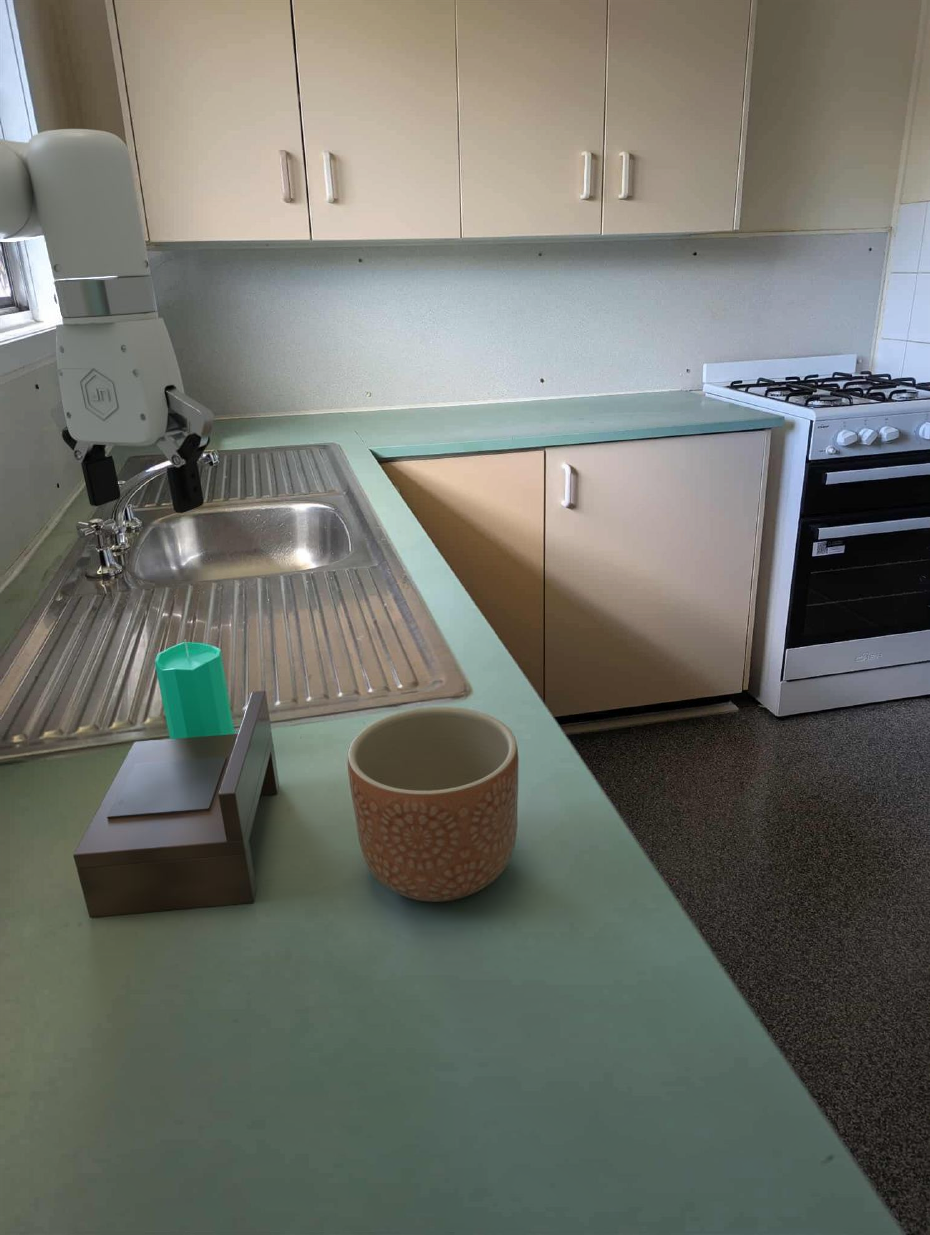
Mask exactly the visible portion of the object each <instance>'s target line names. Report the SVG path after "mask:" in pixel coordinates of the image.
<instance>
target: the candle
mask: <svg viewBox="0 0 930 1235" xmlns="http://www.w3.org/2000/svg"><path fill="white" fill-rule="evenodd" d="M154 666H155V672H156V676H157V682H158V686H159V691H160V696H161V701H162V706H163V710H164V717H165V721H166V722H165V723H166V726H167V732H168V737H169V739H178V738H190V737H203V736H216V735H229V734H236V733H235V732H236V731H235V726H234V722H233V715H232V710H231V703H230V702H231V701H230V697H229V689H228V686H227V685H228V684H227V680H226V672H225V667H224V661H223V655H222V650H221V649H220V648H218V647H217V646H215V645H211V644H207V643H203V642H194V641H187V639H184V640H183V641H182V642H181V643H178V644H175V645H172V646H170V647H168V648H165V649H164V650H162V651H160V652H158V653H157V654H156V657H155V660H154Z"/></svg>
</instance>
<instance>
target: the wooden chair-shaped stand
mask: <svg viewBox="0 0 930 1235" xmlns="http://www.w3.org/2000/svg"><path fill="white" fill-rule="evenodd" d="M270 718H271V717H270V712H269V706H268V700H267V692H266V690H259V691H258V690H257V691H251V693H250V697H249V699H248V703H247V706H246V710H245V712H244V715H243V718H242V721H241V724H240V727H239V730H238V733H235V734H229V735H216V736H203V737H190V738H178V739H170V738H168V739H167V738H166V739H155V740H154V739H153V740H142V741H140V740H139V741H134V742H133V743H132V746H131V747H130V749H129V751H128V753H127V754H126V757H125V758H124V760H123V762H122V764H121V765H120V767H119V770H118V771H117V773H116V774H115V777H114V779H113V780H112V782H111V784H110V786H109V788H108V790H107V792H106V793H105V796H104V797H103V799H102V801H101V803H100V804H99V806H98V808H97V810H96V812H95V814H94V815H93V817H92V819H91V821H90V823H89V825H88V826H87V829H86V830H85V832H84V835H83V836H82V838H81V840H80V841H79V843H78V845H77V847H76V849H75V851H74V853H73V854H72V856H73V861H74V864H75V868H76V871H77V875H78V879H79V882H80V887H81V891H82V894H83V898H84V902H85V906H86V909H87V914H88V917H89V918H98V917H109V916H119V915H131V914H141V913H142V914H143V913H153V912H154V913H155V912H164V911H176V910H187V909H198V908H199V909H200V908H209V907H210V908H211V907H219V906H232V905H242V904H254V902H255V899H256V894H257V890H258V889H257V882H256V876H255V871H254V865H253V864H254V863H253V858H252V852H251V846H250V842H249V841H250V837H251V833H252V830H253V829H252V828H253V826H254V825H253V824H254V820H255V816H256V813H257V810H258V805H259V800H260V796H272V795H278V793H279V789H280V788H279V787H280V780H279V773H278V766H277V760H276V751H275V746H274V738H273V732H272V725H271V720H270Z"/></svg>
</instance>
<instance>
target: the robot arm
mask: <svg viewBox="0 0 930 1235" xmlns="http://www.w3.org/2000/svg"><path fill="white" fill-rule="evenodd" d="M139 203H140V202H139V198H138V191H137V185H136V179H135V174H134V168H133V163H132V158H131V154H130V151H129V148H128V147H127V145H126V143H125V142H124V141H123V140H122V138H120V137H119V136H117V134H115V133H111V132H108V131H105V130H98V129H89V128H88V129H86V128H60V129H52V130H43V131H41V132H38V133H36V134H34V135H32V137H31V138H30V139H29V140H28V142H23V141H15V140H7V139H4V138H0V242H7V243H9V242H20V241H26V240H30V239H31V240H32V239H36V238H40V237H43V240H44V245H45V250H46V254H47V258H48V264H49V268H50V272H51V277H52V281H53V288H54V294H53V299H54V303H55V304H56V305H57V306H58V310H59V315H60V320H61V322H59V323H55V353H56V367H57V376H58V383H59V389H60V396H61V401H60V402H59V403H58V404H56V405H55V406H54V407H53V408H52V409H51V410H50V416H51V418H52V419H53V421H54V423H55V424H56V426H57V428H58V429H59V431H60V432H61V438H62V440H63V441H64V443H65V444H66V445H67V446H68V447H69V448H70V449H71V450H72V456H73V458H74V460H75V461H76V462H78V463H80V465H81V469H82V475H83V479H84V483H85V488H86V494H87V497H88V501H89V505H90V506H92V507H99V506H100V507H101V506H102V505H106V504H108V503H111V502H114V501H118V500H119V499H120V498H121V490H120V484H119V479H118V475H117V470H116V465H115V460H114V457H113V455H108V454H107V452H108V450H109V447H110V446H121V447H122V446H123V447H147V446H150V445H153V444H155V445H156V446H157V448H158V449H159V450H160V452H161V453H162V454H163V455H164V456H165V458H166V459H167V460H168V461H169V463H171V466H168V467H166V474H167V480H168V486H169V491H170V496H171V501H172V507H173V510H174V512H175V513H177V514H184V513H187V512H189V511H192V510H194V509H197V508H199V507H202V506H203V505H204V503H205V499H204V495H203V488H202V482H201V476H200V471H199V464H198V462H200V461H202V460H203V458H204V452H205V450H206V449H207V448H208V446H209V444H210V442H211V437H210V435H211V433H212V429H213V424H214V420H215V414H214V412H213V411H212V410H211V409H209V408H207V407H206V406H204V405H203V404H201V403H200V402H198V401H196V400H195V399H193V398H192V397H190V396H188V395H187V394H185V388H184V384H183V380H182V375H181V371H180V367H179V363H178V360H177V356H176V353H175V350H174V346H173V343H172V340H171V336H170V334H169V332H168V329H167V326H166V324H165V320H164V318H163V317H159V313H158V307H157V306H158V305H157V301H156V294H155V289H154V283H153V277H152V276H151V274H152V273H151V268H150V267H151V266H150V262H149V256H148V250H147V244H146V237H145V231H144V225H143V221H142V216H141V209H140V204H139ZM188 431H189V433H188ZM175 443H176V444H177V445H178V446H179V447H178V446H177V445H176V444H175Z"/></svg>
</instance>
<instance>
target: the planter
mask: <svg viewBox="0 0 930 1235" xmlns="http://www.w3.org/2000/svg"><path fill="white" fill-rule="evenodd" d="M519 761H520V760H519V748H518V744H517V739H516V736H515V735H514V733H513V731H512V730H511V729H510V728H509V727H508V726H507V725H506V724H505V723H504V722H502V721H501V720H500V719H497V718H495V717H494V716H492V715H489V714H488V713H485V712H481V711H477V710H474V709H469V708H464V707H455V706H427V707H420V708H413V709H408V710H403V711H400V712H397V713H393V714H391V715H387V716H385V717H383V718H381V719H378V720H376V721H374V722H373V723H370V724H369V725H368V726H366V727H365V728H364V729H362V730H361V731H360V732H359V733H358V734H357V735H356V736H355V737H354V739H353V740H352V741H351V744H350V746H349V748H348V752H347V773H348V775H347V776H348V780H349V788H350V793H351V800H352V806H353V811H354V812H353V813H354V818H355V824H356V830H357V831H356V832H357V838H358V842H359V847H360V849H361V853H362V857H363V859H364V862H365V863H366V865H367V868H368V869H369V871H370V872H371V873H372V875H373V876H374V877H375V878H376V880H377V881H379V882H380V883H381V884H382V885H383V886H385V887H386V888H387V889H389V890H391V891H392V892H394V893H396V894H398V895H401V896H403V897H405V898H408V899H412V900H416V901H422V902H430V903H434V902H435V903H436V902H437V903H438V902H450V901H456V900H459V899H462V898H465V897H469V896H470V895H471V896H472V895H473V894H475V893H477V892H479V891H481V890H483V889H484V888H486V887H487V886H488V885H490V884H491V883H492V882H494V881H495V880H497V878H498V877H500V875H501V874H502V873H503V871H505V869H506V867H507V865H508V864H509V862H510V861H511V859H512V856H513V854H514V851H515V847H516V842H517V834H518V811H519V810H518V809H519V808H518V807H519V804H518V803H519Z"/></svg>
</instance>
